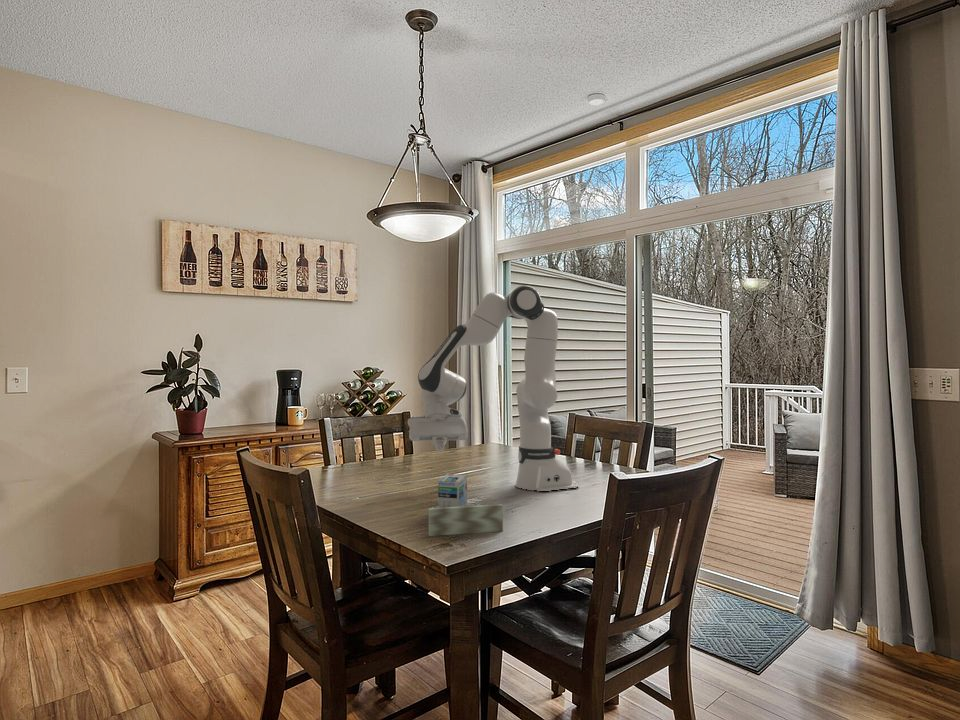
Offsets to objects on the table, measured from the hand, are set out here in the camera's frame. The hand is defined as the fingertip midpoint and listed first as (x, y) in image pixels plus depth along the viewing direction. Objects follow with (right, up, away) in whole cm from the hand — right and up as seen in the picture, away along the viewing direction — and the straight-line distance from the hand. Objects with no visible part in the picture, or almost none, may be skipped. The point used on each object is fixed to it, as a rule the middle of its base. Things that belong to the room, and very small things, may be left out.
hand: (440, 449), depth 195 cm
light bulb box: (+5, -16, -21) cm, 27 cm away
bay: (+8, -16, -33) cm, 38 cm away
